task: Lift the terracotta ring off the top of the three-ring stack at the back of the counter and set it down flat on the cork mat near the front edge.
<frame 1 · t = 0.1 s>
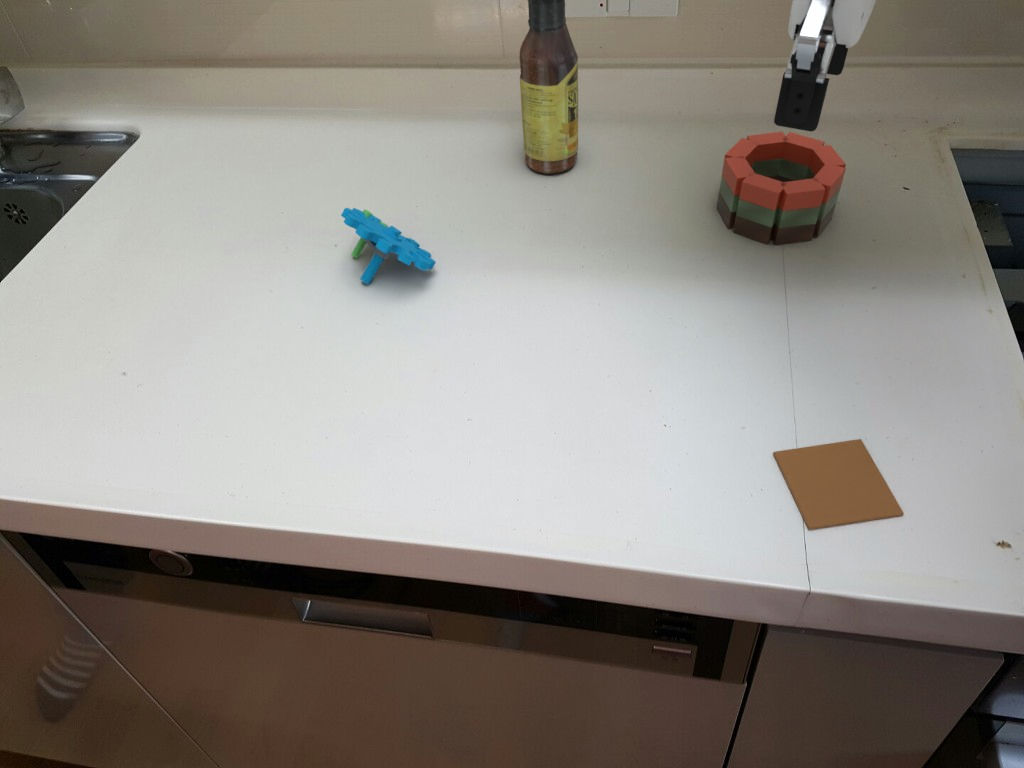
hand: (808, 97, 63), 17 cm above the worktop, tool pointing down, fingers open, 9 cm apart
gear: (393, 269, 80), on the worktop
cork mat: (835, 483, 59), on the worktop
sauce bottle: (551, 163, 92), on the worktop
ring stack: (773, 211, 82), on the worktop
terracotta ring: (780, 178, 79), point 4 cm above the worktop, touching ring stack
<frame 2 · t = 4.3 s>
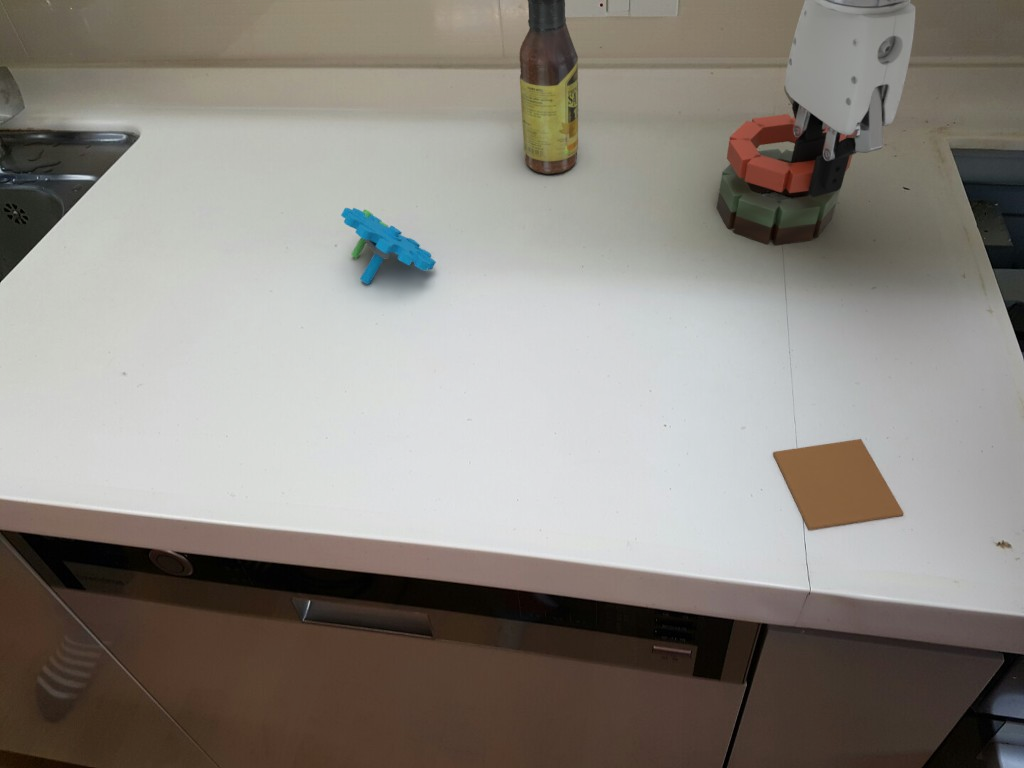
hand: (814, 182, 74), 6 cm above the worktop, tool pointing down, fingers closed on terracotta ring, 2 cm apart
terracotta ring: (786, 161, 78), point 6 cm above the worktop, touching gripper
everything else where it was.
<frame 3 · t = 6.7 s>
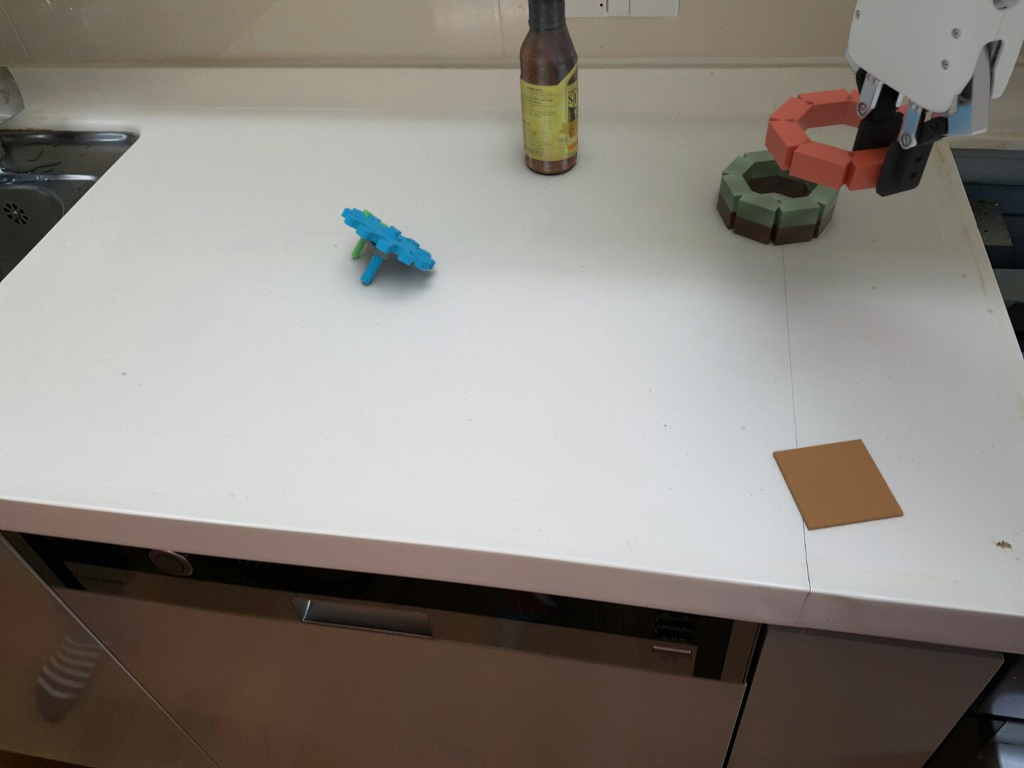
hand: (882, 177, 56), 17 cm above the worktop, tool pointing down, fingers closed on terracotta ring, 2 cm apart
terracotta ring: (843, 149, 60), point 17 cm above the worktop, touching gripper
everything else where it was.
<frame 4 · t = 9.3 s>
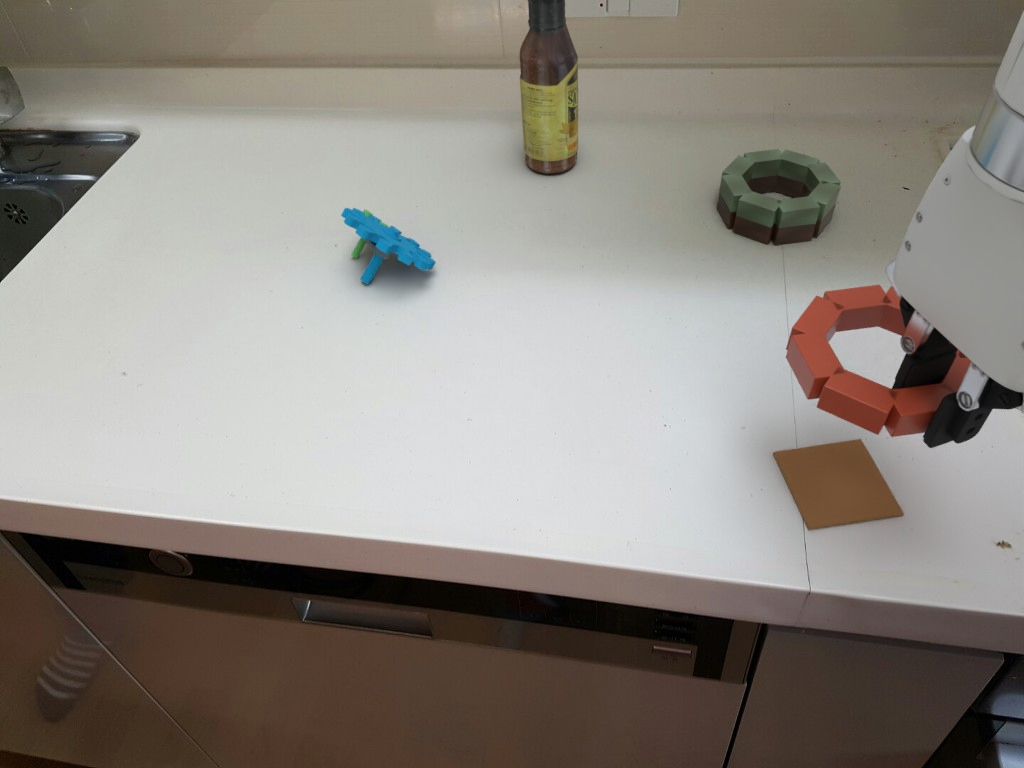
hand: (928, 416, 47), 12 cm above the worktop, tool pointing down, fingers closed on terracotta ring, 2 cm apart
terracotta ring: (880, 367, 50), point 12 cm above the worktop, touching gripper
everything else where it was.
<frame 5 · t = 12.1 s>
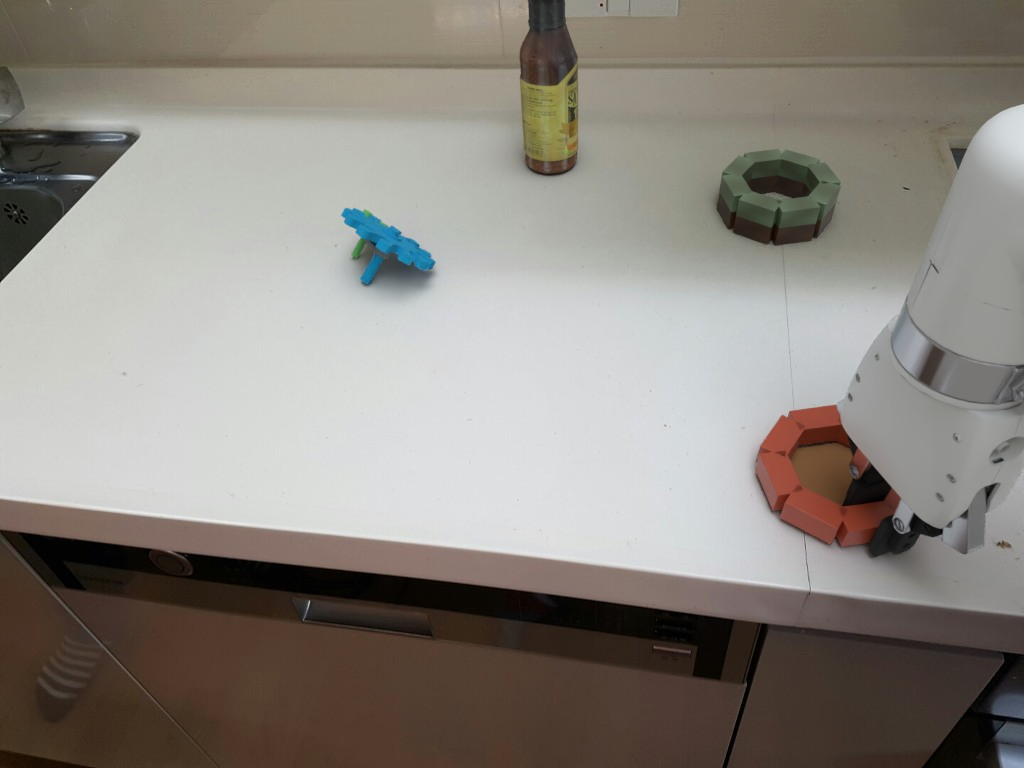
hand: (874, 527, 55), 0 cm above the worktop, tool pointing down, fingers closed on terracotta ring, 2 cm apart
terracotta ring: (835, 479, 58), resting on cork mat, touching gripper
everything else where it was.
when the fingers open (1 cm above the worktop, at t = 14.3 s): terracotta ring stays where it is, resting on cork mat.
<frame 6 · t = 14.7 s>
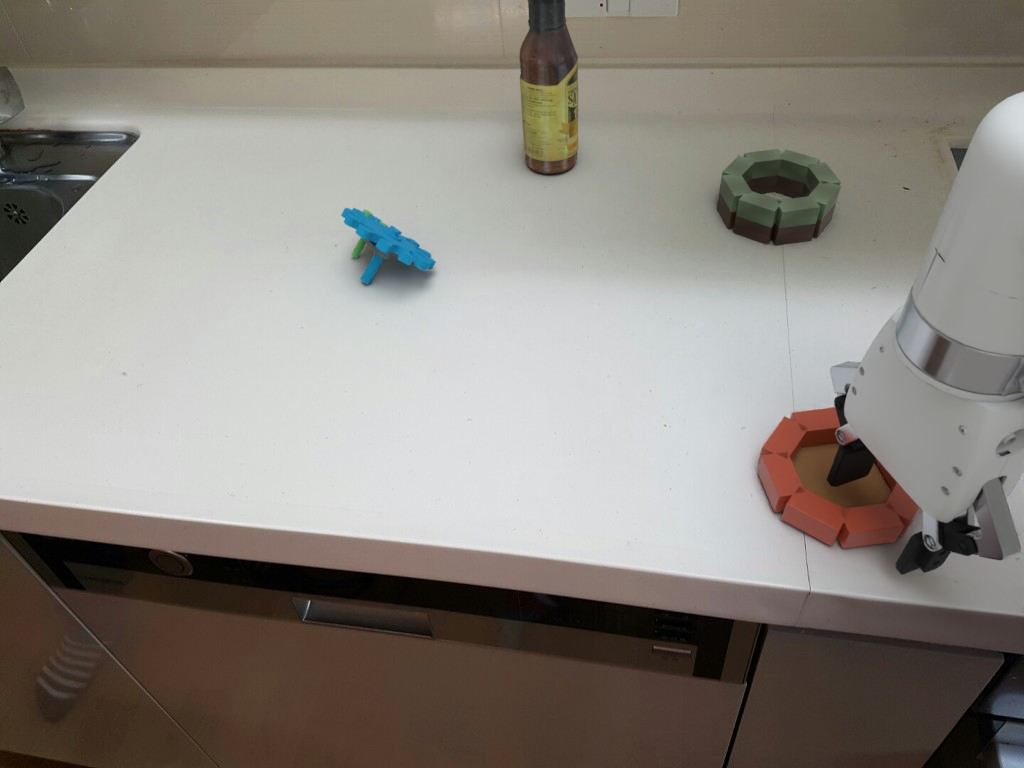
hand: (880, 518, 54), 2 cm above the worktop, tool pointing down, fingers open, 6 cm apart
terracotta ring: (837, 481, 58), resting on cork mat
everything else where it was.
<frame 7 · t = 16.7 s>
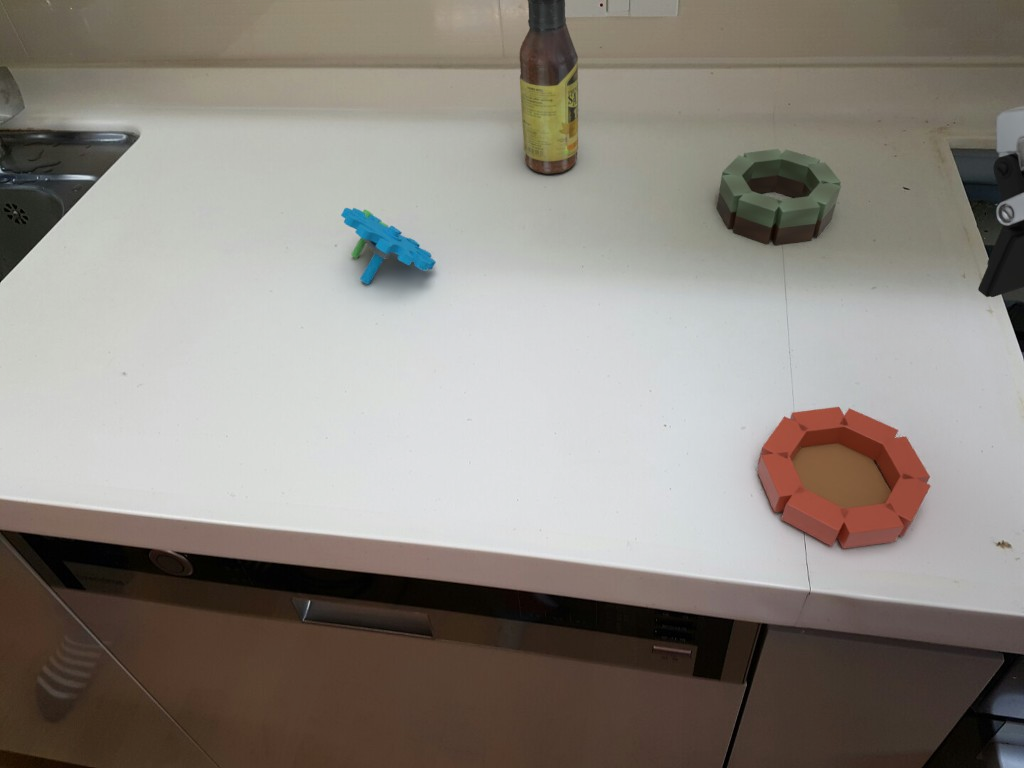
nothing on the worktop moved.
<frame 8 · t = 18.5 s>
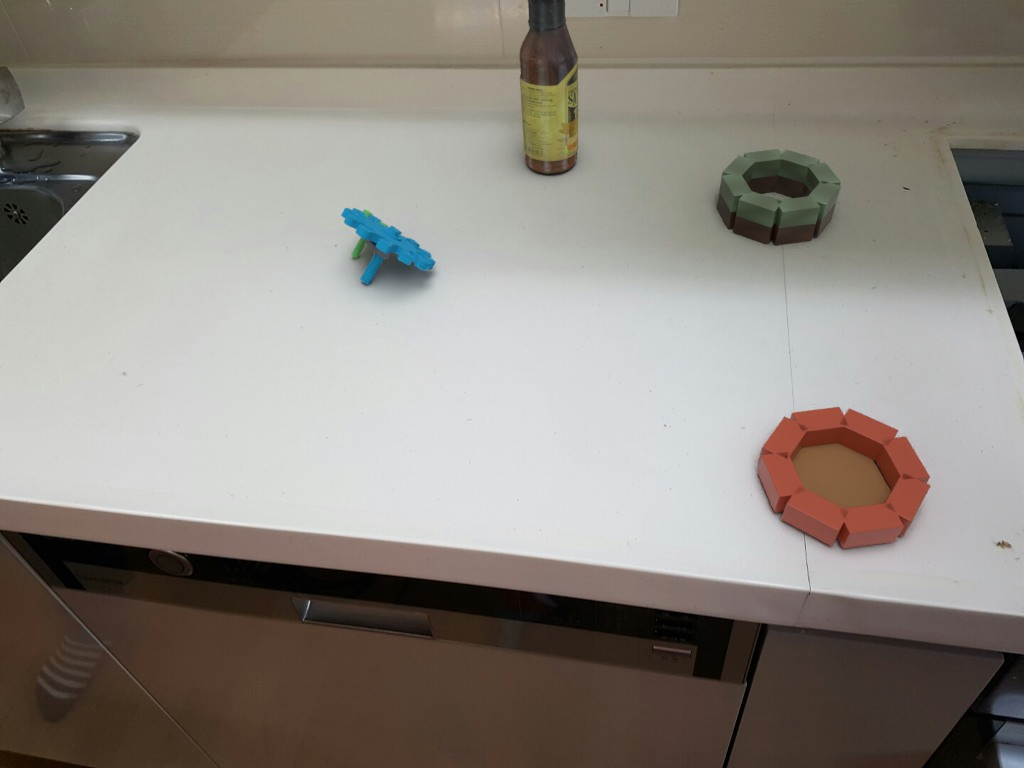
nothing on the worktop moved.
at the end: terracotta ring 0.1 cm off-centre on the cork mat, point 0.3 cm above the cork mat's base; terracotta ring touching cork mat; terracotta ring tilted 0° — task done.
